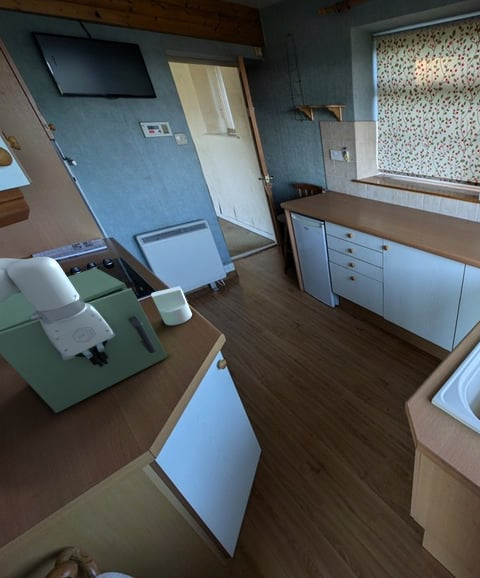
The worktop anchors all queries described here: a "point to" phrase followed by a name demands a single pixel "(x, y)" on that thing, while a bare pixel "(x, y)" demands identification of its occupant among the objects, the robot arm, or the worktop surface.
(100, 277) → the cupboard
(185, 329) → the worktop surface
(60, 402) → the cupboard door
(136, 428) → the worktop surface
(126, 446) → the worktop surface
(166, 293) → the base with upright slab
